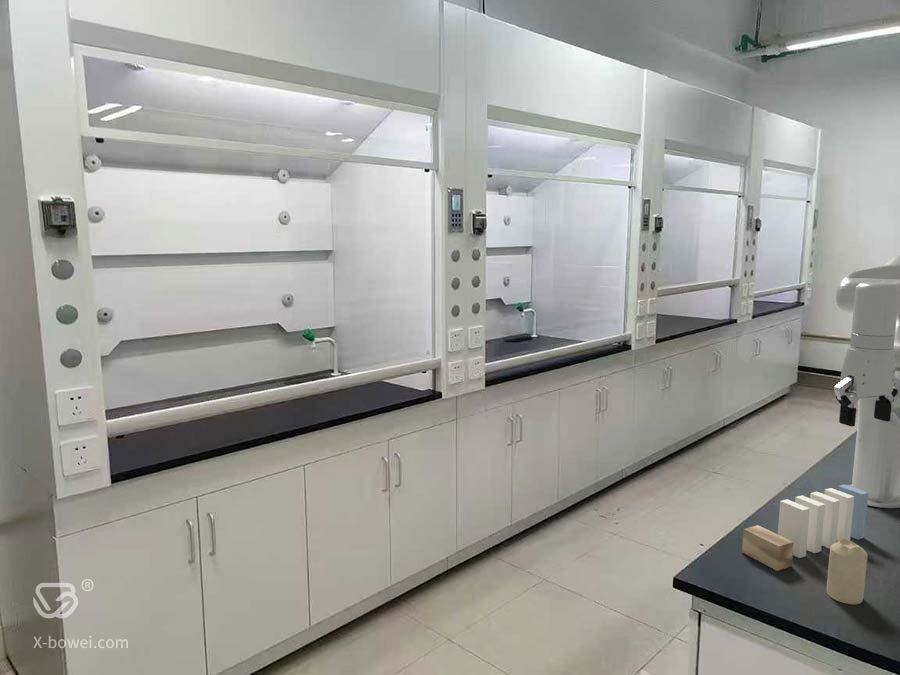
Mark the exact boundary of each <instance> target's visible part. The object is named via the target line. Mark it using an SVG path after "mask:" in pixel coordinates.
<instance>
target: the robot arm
mask: <svg viewBox="0 0 900 675" xmlns="http://www.w3.org/2000/svg"><path fill="white" fill-rule="evenodd" d="M835 292H836V293H835V302H836V305H837V306H838V309H840V310H841V311H843V312H847V313H852V323H851V332H850V345H849V348H847V350H846V352H845V354H844V355H845V356H844V359H843V364H842V367H841V374H840V379H839V382H838V383H837V384H836V385H834V386H833V392H834V395H835V399H836V400H837V402H838V403H837V404H838V405H839V406H840V408H839V419H838V420H839V421H838V422H839V424H842V425H845V426H848V427H851V428H852V427H855V426H857V428H856V439H855V449H854V458H853V469H852V477H851V478H852V479H851V480H852V481H851V484H847V485H848V486H851V487H854V488H856V489H859V490H862V491H865V492H868V501H867V506H870V507H874V508H875V507H876V508H881V509H882V508H883V509H899V508H900V418H899V417H898V416H897V414H896V413H898V414H899V413H900V255H897V256H894V257H892V258H891V259H889V260H888V261H887V262H886V263H885V264H884V265H881V266H875V267H873V268H866V269H861V270H857V271H853V272H850V273H847V275H845V277H844V278H842V280H841V281H840V283H839V284H838V286H837V289H836V291H835ZM850 398H851V399H850ZM856 404H857V407H855V406H856ZM856 415H857V416H856ZM856 417H857V425H856Z"/></svg>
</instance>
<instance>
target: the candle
mask: <svg viewBox="0 0 900 675" xmlns="http://www.w3.org/2000/svg"><path fill="white" fill-rule="evenodd" d="M868 555H869V554H868V553H867V551H866V550H865V549H864V548H863V547H861V546H859V545H858V544H856V543H855V542H853V541H851V540H850V541H848V540H846V539H842V540H840V541H836V543H834V544H833V545H831V546H830V549H829V557H828V558H829V559H828V568H827V578H826V579H827V581H826V593H827V595H828V596H829V598H831V599H833V600H835V601H837V602H839V603H842V604H847V605H859V604H861V603H862V602H863V600H864V593H865V583H866V575H867V574H866V573H867V563H868Z"/></svg>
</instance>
